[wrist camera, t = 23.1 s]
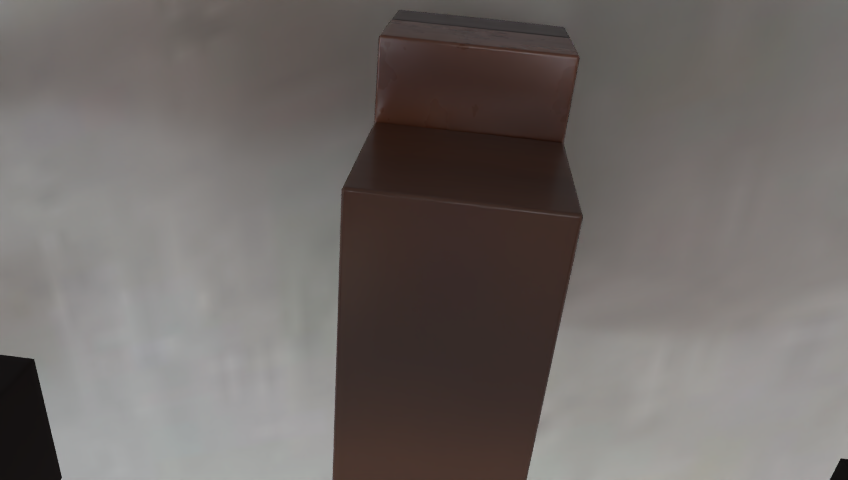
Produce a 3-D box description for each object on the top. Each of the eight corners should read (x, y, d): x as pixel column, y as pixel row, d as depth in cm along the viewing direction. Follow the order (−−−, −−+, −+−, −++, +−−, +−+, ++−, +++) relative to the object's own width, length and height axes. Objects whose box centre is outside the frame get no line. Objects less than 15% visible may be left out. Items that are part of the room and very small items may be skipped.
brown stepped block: (397, 9, 18) (344, 80, 12) (565, 26, 18) (607, 109, 12) (374, 365, 24) (329, 548, 17) (503, 380, 24) (506, 573, 17)
